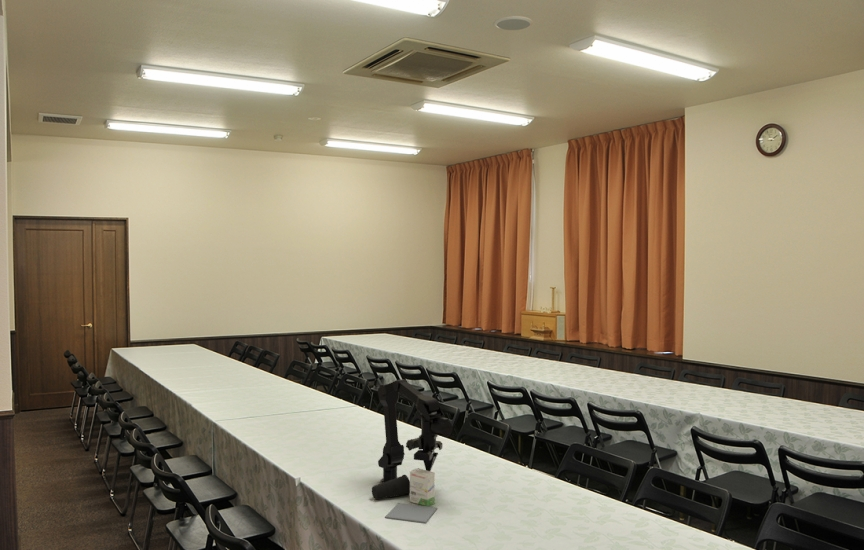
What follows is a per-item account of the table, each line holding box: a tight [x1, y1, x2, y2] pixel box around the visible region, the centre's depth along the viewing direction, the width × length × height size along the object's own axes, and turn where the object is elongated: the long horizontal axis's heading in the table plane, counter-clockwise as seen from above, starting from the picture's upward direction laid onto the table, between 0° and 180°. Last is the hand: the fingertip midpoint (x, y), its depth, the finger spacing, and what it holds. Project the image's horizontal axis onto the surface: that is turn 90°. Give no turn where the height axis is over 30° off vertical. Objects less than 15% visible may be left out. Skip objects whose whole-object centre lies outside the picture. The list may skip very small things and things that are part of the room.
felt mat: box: [384, 502, 438, 524], centre depth 226 cm, size 14×15×1 cm
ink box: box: [409, 467, 436, 507], centre depth 237 cm, size 8×5×12 cm, turn 52°
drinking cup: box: [371, 474, 410, 500], centre depth 245 cm, size 8×8×20 cm
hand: (428, 472), depth 244 cm, fingers closed
